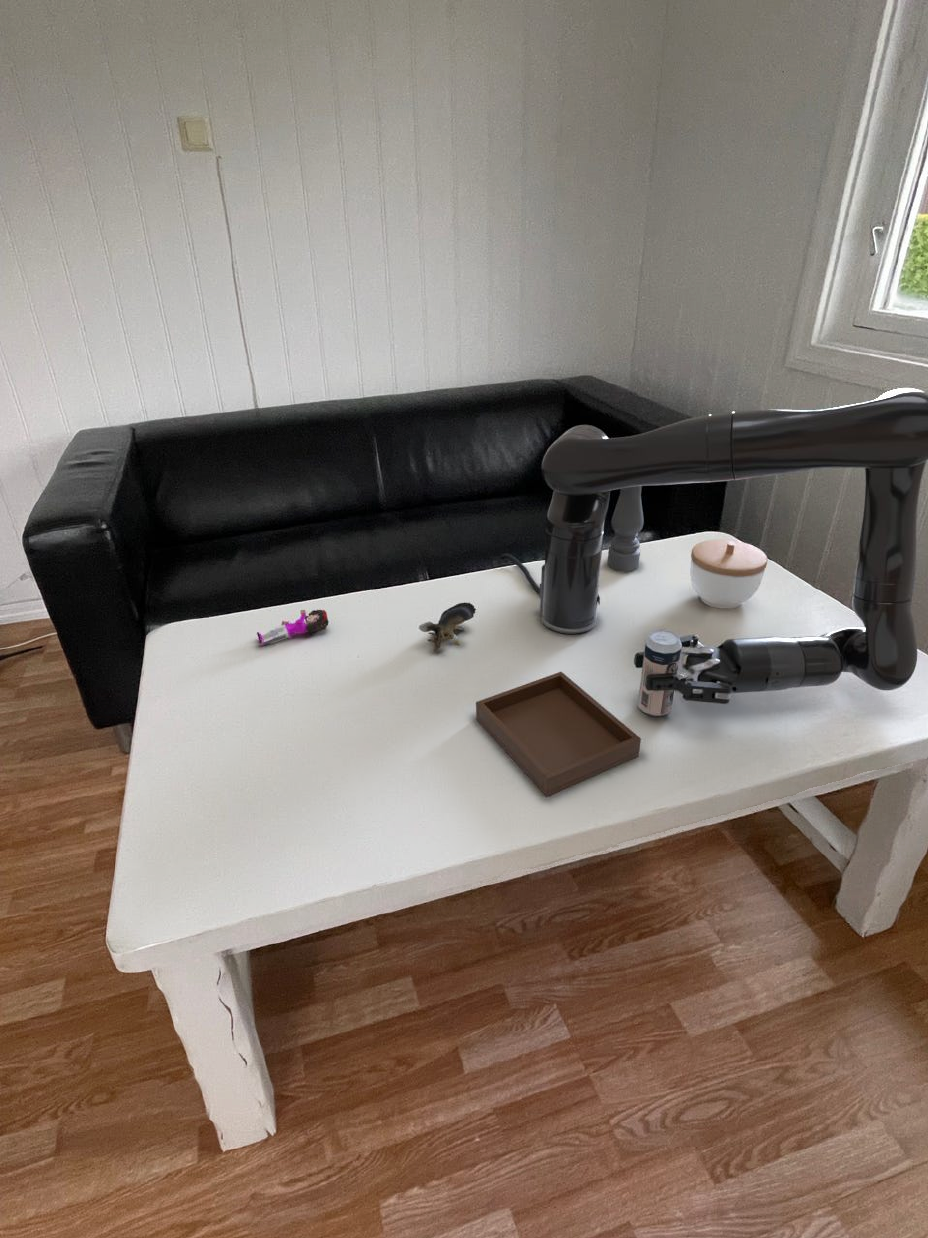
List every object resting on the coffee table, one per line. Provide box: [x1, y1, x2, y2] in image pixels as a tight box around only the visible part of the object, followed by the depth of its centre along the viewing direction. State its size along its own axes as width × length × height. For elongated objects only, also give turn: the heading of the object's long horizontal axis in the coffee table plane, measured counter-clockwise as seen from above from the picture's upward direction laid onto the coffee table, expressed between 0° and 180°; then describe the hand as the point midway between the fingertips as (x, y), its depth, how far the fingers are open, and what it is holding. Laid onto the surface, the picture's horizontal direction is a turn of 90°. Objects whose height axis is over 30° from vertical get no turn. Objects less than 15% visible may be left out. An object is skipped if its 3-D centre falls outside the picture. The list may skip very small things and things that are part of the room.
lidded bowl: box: [689, 539, 768, 610], centre depth 124 cm, size 13×13×11 cm
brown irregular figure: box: [418, 601, 477, 653], centre depth 115 cm, size 8×7×9 cm
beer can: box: [637, 629, 682, 717], centre depth 97 cm, size 5×5×12 cm
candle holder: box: [606, 486, 645, 573], centre depth 133 cm, size 6×6×25 cm
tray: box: [475, 671, 642, 797], centre depth 94 cm, size 18×15×3 cm
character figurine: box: [256, 609, 330, 647], centre depth 118 cm, size 6×5×12 cm
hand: (641, 671), depth 97 cm, fingers closed on beer can, 4 cm apart
